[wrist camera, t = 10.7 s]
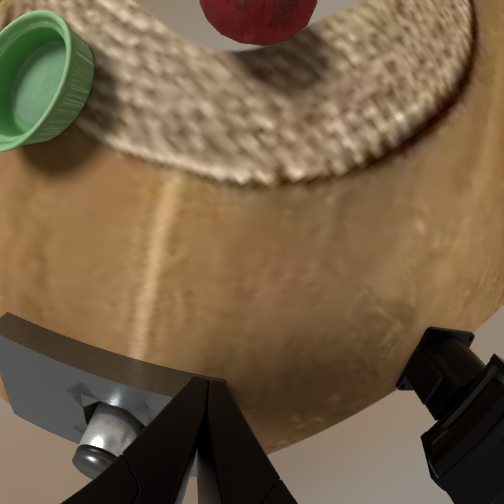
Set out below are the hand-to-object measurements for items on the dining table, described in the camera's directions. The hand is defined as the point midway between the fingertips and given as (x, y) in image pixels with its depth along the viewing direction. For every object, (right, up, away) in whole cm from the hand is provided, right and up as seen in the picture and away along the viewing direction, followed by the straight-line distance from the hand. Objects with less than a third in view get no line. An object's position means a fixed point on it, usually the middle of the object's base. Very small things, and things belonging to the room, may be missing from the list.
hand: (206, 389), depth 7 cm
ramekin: (-13, +15, +8) cm, 21 cm away
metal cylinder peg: (-10, -10, +15) cm, 20 cm away
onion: (+1, +17, +7) cm, 19 cm away
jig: (-12, -9, +15) cm, 21 cm away
